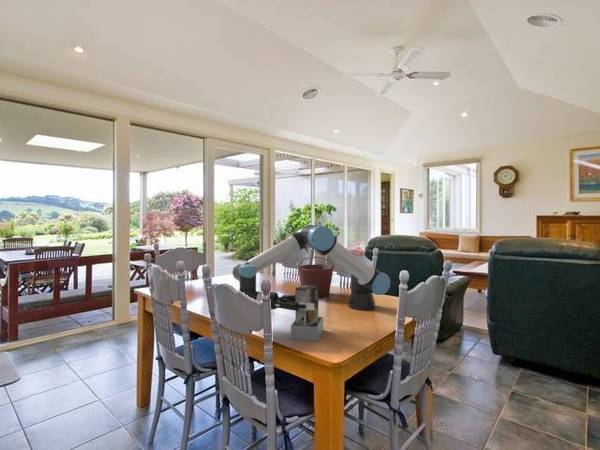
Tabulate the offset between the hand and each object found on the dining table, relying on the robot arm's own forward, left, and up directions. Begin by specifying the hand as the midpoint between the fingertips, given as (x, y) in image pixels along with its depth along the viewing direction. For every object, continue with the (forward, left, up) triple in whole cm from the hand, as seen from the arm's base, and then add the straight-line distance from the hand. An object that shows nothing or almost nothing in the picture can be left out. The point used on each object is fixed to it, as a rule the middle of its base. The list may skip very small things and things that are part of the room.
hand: (316, 303), depth 154 cm
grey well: (+4, 0, -14) cm, 15 cm away
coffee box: (+4, 0, -9) cm, 10 cm away
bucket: (+13, -72, -14) cm, 75 cm away
